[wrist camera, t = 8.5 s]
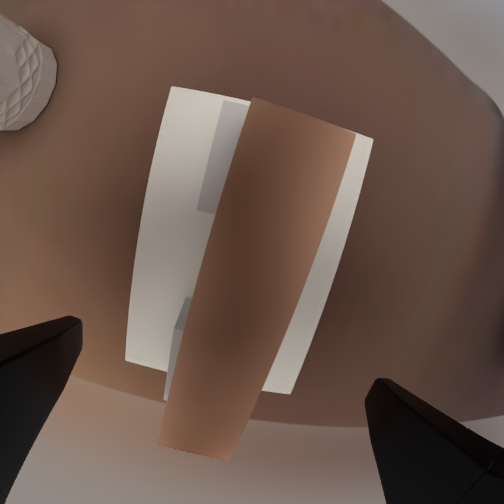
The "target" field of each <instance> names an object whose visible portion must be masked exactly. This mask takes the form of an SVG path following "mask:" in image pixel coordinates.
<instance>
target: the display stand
mask: <svg viewBox="0 0 504 504" xmlns="http://www.w3.org/2000/svg"><path fill="white" fill-rule="evenodd" d="M250 103H251V102H250V101H245V100H241V99H237V98H232V97H227V96H223V95H218V94H213V93H208V92H202V91H197V90H191V89H185V88H179V87H173V86H171V90H170V93H169V97H168V101H167V104H166V108H165V112H164V115H163V119H162V123H161V127H160V131H159V135H158V139H157V144H156V148H155V152H154V157H153V161H152V166H151V170H150V175H149V180H148V185H147V190H146V195H145V200H144V206H143V211H142V217H141V223H140V229H139V235H138V242H137V248H136V255H135V262H134V270H133V278H132V286H131V295H130V304H129V315H128V326H127V339H126V354H125V361H129V362H132V363H136V364H139V365H143V366H147V367H151V368H154V369H158V370H162V371H166V372H167V378H166V385H165V393H164V400H167V399H168V395H169V391H170V386H171V382H172V378H173V373H174V369H175V365H176V361H177V356H178V352H179V348H180V344H181V340H182V336H183V332H184V328H185V324H186V320H187V316H188V312H189V309H190V305H191V301H192V297H193V293H194V290H195V286H196V282H197V278H198V275H199V271H200V267H201V264H202V260H203V256H204V253H205V249H206V246H207V242H208V239H209V235H210V232H211V228H212V225H213V221H214V218H215V214H216V211H217V208H218V204H219V201H220V198H221V194H222V191H223V188H224V184H225V181H226V178H227V174H228V171H229V168H230V165H231V162H232V158H233V155H234V152H235V149H236V146H237V143H238V139H239V136H240V133H241V130H242V127H243V124H244V121H245V118H246V115H247V112H248V109H249V106H250ZM345 130H346V129H345ZM348 131H349V130H348ZM350 132H352V131H350ZM353 133H355V132H353ZM355 134H356V137H355V140H354V144H353V147H352V150H351V153H350V157H349V160H348V163H347V166H346V169H345V172H344V175H343V178H342V181H341V185H340V188H339V191H338V194H337V197H336V200H335V202H334V205H333V208H332V211H331V214H330V217H329V220H328V223H327V226H326V229H325V231H324V234H323V237H322V240H321V243H320V245H319V248H318V251H317V254H316V256H315V259H314V262H313V264H312V267H311V270H310V273H309V275H308V278H307V280H306V283H305V286H304V288H303V291H302V294H301V296H300V299H299V301H298V304H297V306H296V309H295V311H294V314H293V316H292V319H291V321H290V324H289V326H288V329H287V331H286V334H285V336H284V339H283V341H282V344H281V346H280V348H279V351H278V353H277V356H276V358H275V360H274V363H273V365H272V367H271V370H270V372H269V374H268V377H267V379H266V381H265V384H264V386H263V388H262V391H269V392H276V393H283V394H291V391H292V389H293V387H294V384H295V382H296V379H297V377H298V374H299V372H300V369H301V367H302V364H303V362H304V359H305V357H306V354H307V352H308V349H309V347H310V344H311V341H312V339H313V336H314V333H315V331H316V328H317V325H318V322H319V320H320V317H321V314H322V311H323V309H324V306H325V303H326V300H327V297H328V294H329V291H330V288H331V285H332V282H333V280H334V277H335V273H336V270H337V267H338V264H339V261H340V258H341V255H342V252H343V249H344V245H345V242H346V239H347V236H348V232H349V229H350V226H351V222H352V219H353V215H354V212H355V208H356V205H357V201H358V198H359V194H360V190H361V187H362V183H363V179H364V175H365V172H366V168H367V164H368V160H369V156H370V152H371V148H372V144H373V139H371V138H369V137H366V136H363V135H360V134H358V133H355Z"/></svg>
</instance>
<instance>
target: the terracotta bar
mask: <svg viewBox="0 0 504 504" xmlns="http://www.w3.org/2000/svg"><path fill="white" fill-rule="evenodd" d="M355 137H356V134H355V133H353V132H350V131H348V130H345V129H343V128H341V127H338V126H336V125H333V124H330V123H328V122H325V121H323V120H320V119H317V118H315V117H312V116H309V115H306V114H304V113H301V112H298V111H295V110H292V109H289V108H286V107H283V106H280V105H277V104H274V103H271V102H268V101H265V100H261V99H258V98H255V97H252V100H251V103H250V106H249V109H248V112H247V115H246V118H245V121H244V124H243V127H242V130H241V133H240V136H239V139H238V143H237V146H236V149H235V152H234V155H233V158H232V162H231V165H230V168H229V171H228V174H227V178H226V181H225V184H224V188H223V191H222V194H221V198H220V201H219V204H218V208H217V211H216V214H215V218H214V221H213V225H212V228H211V232H210V235H209V239H208V242H207V246H206V249H205V253H204V256H203V260H202V264H201V267H200V271H199V275H198V278H197V282H196V286H195V290H194V293H193V297H192V301H191V305H190V309H189V312H188V316H187V320H186V324H185V328H184V332H183V336H182V340H181V344H180V348H179V352H178V356H177V361H176V365H175V369H174V373H173V378H172V382H171V386H170V391H169V395H168V399H167V404H166V408H165V413H164V417H163V422H162V427H161V432H160V436H159V441H158V445H162V446H166V447H169V448H173V449H177V450H181V451H185V452H189V453H194V454H198V455H203V456H208V457H213V458H218V459H223V460H229V459H230V457H231V455H232V453H233V451H234V449H235V447H236V445H237V443H238V441H239V439H240V437H241V434H242V432H243V430H244V428H245V426H246V424H247V422H248V419H249V417H250V415H251V413H252V411H253V408H254V406H255V404H256V402H257V399H258V397H259V395H260V393H261V390H262V388H263V386H264V384H265V381H266V379H267V377H268V374H269V372H270V370H271V367H272V365H273V363H274V360H275V358H276V356H277V353H278V351H279V348H280V346H281V344H282V341H283V339H284V336H285V334H286V331H287V329H288V326H289V324H290V321H291V319H292V316H293V314H294V311H295V309H296V306H297V304H298V301H299V299H300V296H301V294H302V291H303V288H304V286H305V283H306V280H307V278H308V275H309V273H310V270H311V267H312V264H313V262H314V259H315V256H316V254H317V251H318V248H319V245H320V243H321V240H322V237H323V234H324V231H325V229H326V226H327V223H328V220H329V217H330V214H331V211H332V208H333V205H334V202H335V200H336V197H337V194H338V191H339V188H340V185H341V181H342V178H343V175H344V172H345V169H346V166H347V163H348V160H349V157H350V153H351V150H352V147H353V144H354V140H355Z"/></svg>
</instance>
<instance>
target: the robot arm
mask: <svg viewBox="0 0 504 504" xmlns="http://www.w3.org/2000/svg"><path fill="white" fill-rule="evenodd" d="M82 344H83V325H82V321H81V319H79V318H76V317H73V316H65V317H62V318H58V319H55V320H51V321H47V322H44V323H40V324H37V325H33V326H29V327H26V328H22V329H18V330H15V331H11V332H7V333H4V334H0V504H5V502H6V498H7V496H8V494H9V492H10V490H11V488H12V486H13V483H14V481H15V479H16V477H17V475H18V473H19V471H20V469H21V467H22V465H23V463H24V461H25V459H26V457H27V455H28V453H29V451H30V449H31V447H32V445H33V443H34V441H35V440H36V438H37V436H38V434H39V432H40V430H41V429H42V427H43V425H44V423H45V421H46V420H47V418H48V416H49V414H50V412H51V411H52V409H53V407H54V405H55V403H56V402H57V400H58V398H59V397H60V395H61V393H62V391H63V390H64V387H65V385H66V383H67V381H68V379H69V376H70V374H71V372H72V369H73V367H74V365H75V363H76V361H77V358H78V356H79V354H80V352H81V349H82ZM365 409H366V415H367V421H368V428H369V434H370V439H371V445H372V449H373V452H374V456H375V460H376V464H377V468H378V472H379V475H380V479H381V484H382V487H383V491H384V496H385V500H386V504H504V448H502V447H500V446H498V445H496V444H494V443H493V442H491V441H489V440H487V439H485V438H483V437H482V436H480V435H478V434H477V433H475V432H473V431H471V430H470V429H468V428H467V429H466V427H465V426H463V425H462V424H460V423H458V422H457V421H455V420H454V419H452V418H450V417H449V416H447V415H445V414H444V413H442V412H441V411H439V410H437V409H436V408H434V407H433V406H431V405H429V404H428V403H426V402H425V401H423V400H422V399H420V398H418V397H417V396H415V395H414V394H412V393H411V392H409V391H407V390H406V389H404V388H403V387H401V386H400V385H398V384H396V383H395V382H393V381H392V380H390V379H388V378H377V379H376V380H375V381H374V383H373V385H372V387H371V389H370V390H369V392H368V394H367V396H366V398H365Z"/></svg>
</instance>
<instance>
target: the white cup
mask: <svg viewBox="0 0 504 504" xmlns="http://www.w3.org/2000/svg"><path fill="white" fill-rule="evenodd" d="M56 73H57V62H56V60H55V57H54V54H53V52H52V49H50V48H49V47H47V46H46V45H44V44H42V43H41V42H39V41H37V40H36V39H35V38H34V37H32V36H31V35H30V33H29V32H27V31H26V30H24V29H23V28H22V27H20V26H19V25H17V24H15V23H13V22H12V21H11V20H10V19H8V18H7V17H5V16H3V15H1V14H0V130H19V129H21V128H23V127H24V126H26V125H28V124H30V123H31V122H33V121H34V120H35V119H36V118H37V116H38V115H39V114H40V113H41V111H42V110H43V109H44V108H45V107H46V105H47V104H48V101H49V99H50V96H51V94H52V91H53V89H54V87H55V84H56Z"/></svg>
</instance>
